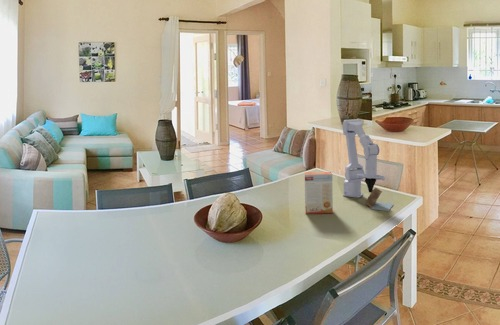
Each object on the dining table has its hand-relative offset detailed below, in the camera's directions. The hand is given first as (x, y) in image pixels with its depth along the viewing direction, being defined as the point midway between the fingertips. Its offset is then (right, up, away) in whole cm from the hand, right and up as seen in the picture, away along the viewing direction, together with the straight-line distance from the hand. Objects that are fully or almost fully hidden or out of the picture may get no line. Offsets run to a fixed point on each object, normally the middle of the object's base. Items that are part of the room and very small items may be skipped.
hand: (370, 192), depth 231 cm
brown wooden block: (0, -6, +2) cm, 7 cm away
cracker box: (-29, -10, -5) cm, 31 cm away
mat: (+6, -8, -2) cm, 10 cm away
